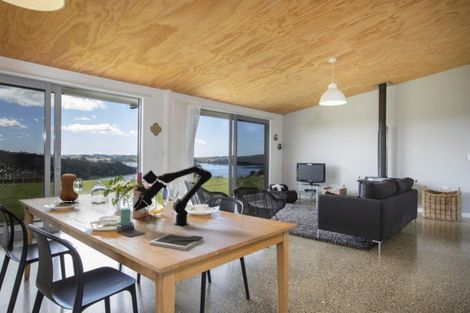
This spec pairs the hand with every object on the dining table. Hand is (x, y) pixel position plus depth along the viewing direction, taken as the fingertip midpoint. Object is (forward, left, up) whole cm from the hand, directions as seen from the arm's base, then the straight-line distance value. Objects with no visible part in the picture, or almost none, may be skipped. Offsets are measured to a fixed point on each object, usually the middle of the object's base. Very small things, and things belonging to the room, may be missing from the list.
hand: (134, 209), depth 163 cm
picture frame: (-39, +2, -12) cm, 41 cm away
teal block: (+2, +4, -11) cm, 12 cm away
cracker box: (+24, -22, -12) cm, 35 cm away
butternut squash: (+118, -14, -11) cm, 120 cm away
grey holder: (+2, +4, -11) cm, 12 cm away
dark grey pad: (-9, +7, -11) cm, 16 cm away
